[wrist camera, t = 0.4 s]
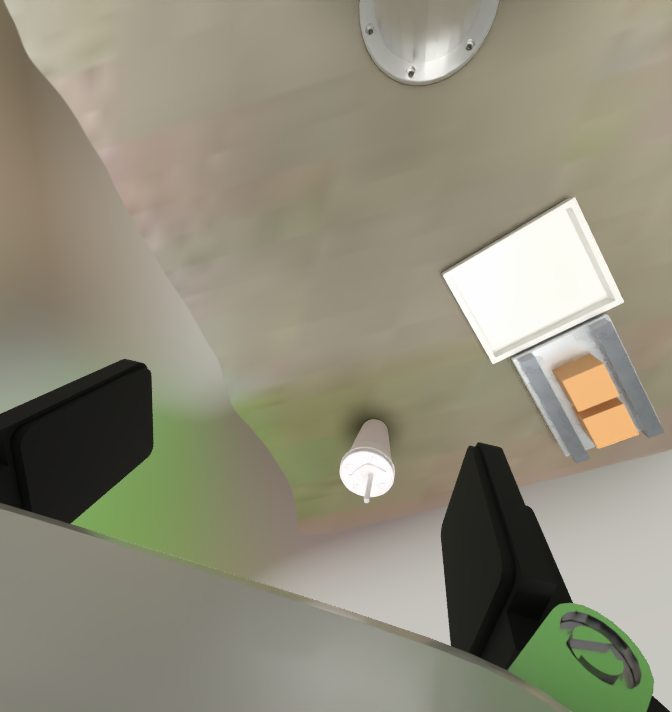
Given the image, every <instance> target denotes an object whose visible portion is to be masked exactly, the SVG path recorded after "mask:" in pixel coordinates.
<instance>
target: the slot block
mask: <svg viewBox="0 0 672 712" xmlns="http://www.w3.org/2000/svg"><path fill="white" fill-rule="evenodd" d="M588 354H591V355H593V356H594V357H595V358H597V359H598V360H600V361H601V362H602V363H604V365H605V367H606V369H607V371H608V373H609V375H610V377H611V379H612V381H613V383H614V385H615V387H616V389H617V391H618V393H619V395H620V396H618V397H617V398H618V399H619V400H620V401H621V402H622V403H624V405H625V407H626V409H627V411H628V413H629V415H630V417H631V419H632V421H633V423H634V425H635V427H636V429H637V431H642V432H643V433H644V434H645V435H646V436H647V437H648V438H650V437H653V436H656V435H659V434H661V433H664V431H663V428H662V426H661V423H660V421H659V419H658V417H657V414H656V412H655V410H654V408H653V406H652V404H651V402H650V400H649V398H648V396H647V394H646V392H645V390H644V388H643V385H642V383H641V381H640V379H639V377H638V375H637V373H636V371H635V369H634V367H633V365H632V363H631V361H630V359H629V356H628V354H627V352H626V350H625V348H624V346H623V344H622V342H621V340H620V338H619V336H618V334H617V332H616V330H615V327H614V325H613V323H612V321H611V319H610V317H609V316H608V315H606V314H604V313H600V314H598V315H596V316H594V317H592V318H590V319H588V320H586V321H583V322H581V323H579V324H577V325H575V326H573V327H571V328H569V329H566V330H564V331H562V332H560V333H558V334H556V335H554V336H552V337H550V338H547V339H545V340H543V341H541V342H539V343H537V344H535V345H533V346H531V347H528V348H526V349H524V350H522V351H520V352H518V353H516V354H514V355H511V356H509V357H510V359H511V361H512V363H513V365H514V366H515V368H516V370H517V372H518V374H519V375H520V377H521V379H522V381H523V383H524V384H525V386H526V388H527V390H528V392H529V393H530V395H531V397H532V399H533V401H534V402H535V404H536V406H537V408H538V410H539V411H540V413H541V415H542V417H543V419H544V420H545V422H546V424H547V426H548V428H549V429H550V431H551V433H552V435H553V437H554V438H555V440H556V442H557V444H558V445H559V447H560V448H561V450H562V451H563V453H564V454H565V456H566V457H568V456H571V457H572V458H573V460H574V461H575V463H578V462H581V461H584V460H587V459H590V458H589V456H588V454H587V452H586V451H585V450H588V449H591V448H593V447H596V446H595V445H594V443H593V442H592V441H591V440H590V439H589V437H588V436H587V435H586V433H585V432H584V430H583V428H582V426H581V424H580V422H579V420H578V418H577V417H576V415H575V413H574V411H573V409H572V407H571V406H573V405H572V404H571V403H570V402H569V401H568V400H567V398H566V396H565V394H564V392H563V390H562V388H561V387H560V385H559V383H558V381H557V379H556V377H555V375H554V373H553V372H552V370H554V369H556V368H559V367H561V366H563V365H565V364H568V363H570V362H572V361H574V360H577V359H579V358H581V357H584V356H586V355H588Z"/></svg>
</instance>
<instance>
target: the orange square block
mask: <svg viewBox="0 0 672 712" xmlns="http://www.w3.org/2000/svg"><path fill="white" fill-rule="evenodd" d="M552 372H553V373H554V375H555V377H556V379H557V381H558V383H559V385H560V387H561V388H562V390H563V392H564V394H565V396H566V398H567V400H568V401H569V402H570V403H571V404H572V405H573V406H574V408H575V409H576V410H577V411H578V412H580V411H583V410H585V409H588V408H590V407H593V406H595V405H598V404H600V403H603V402H605V401H608V400H610V399H613V398H616V397H618V396H620V395H619V393H618V391H617V389H616V387H615V385H614V383H613V381H612V379H611V377H610V375H609V373H608V371H607V369H606V367H605V365H604V363H602V362H601V361H600V360H598V359H597V358H595V357H594V356H593V355H591V354H588V355H586V356H584V357H581V358H579V359H577V360H574V361H572V362H570V363H568V364H565V365H563V366H561V367H559V368H556V369H554V370H552Z"/></svg>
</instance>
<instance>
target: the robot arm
mask: <svg viewBox="0 0 672 712" xmlns="http://www.w3.org/2000/svg"><path fill="white" fill-rule="evenodd" d="M498 4H499V0H360V3H359V16H360V26H361V31H362V35H363V39H364V42H365V45H366V48H367V50H368V52H369V54H370V56H371V58H372V60H373V61H374V62H375V64H376V65H377V66H378V67H379V69H380V70H381V71H383V72H384V73H385V74H386V75H387V76H389V77H390V78H392V79H394V80H396V81H398V82H400V83H404V84H408V85H428V84H432V83H437V82H439V81H441V80H444V79H446V78H448V77H450V76H451V75H453V74H454V73H456V72H457V71H459V70H460V69H461V68H462V67H463V66H464V65H466V64H467V63H468V62H469V61H470V60H471V59H472V58H473V56H474V55H475V54H476V52H477V51H478V50H479V48H480V47H481V46H482V44H483V42H484V40H485V38H486V36H487V35H488V33H489V31H490V28H491V26H492V23H493V21H494V18H495V15H496V11H497V8H498ZM370 31H373V33H372V34H371V35H368V33H369V32H370ZM467 46H470V47H471V50H469V51H468V50H466V47H467ZM411 72H412V73H413V74H414V75H413V77H409V73H411ZM151 381H152V380H151V372H150V370H148V369H147V366H146V365H145V364H144V363H140V362H136V361H132V360H127V359H123V360H120V361H118V362H116V363H114V364H111V365H109V366H107V367H105V368H102V369H100V370H98V371H96V372H93V373H91V374H89V375H87V376H84V377H82V378H80V379H78V380H75V381H73V382H71V383H69V384H66V385H64V386H62V387H60V388H57V389H55V390H53V391H51V392H48V393H46V394H44V395H42V396H39V397H37V398H35V399H33V400H30V401H28V402H26V403H24V404H22V405H19V406H17V407H15V408H13V409H10V410H8V411H6V412H4V413H1V414H0V712H670V711H669V710H668V709H667V708H665V707H664V706H663V705H662V704H661V703H660V702H659V701H658V700H657V699H655V698H654V697H653V696H652V694H653V684H654V679H653V676H652V673H651V670H650V667H649V665H648V663H647V661H646V659H645V658H644V656H643V655H642V653H641V652H640V650H639V648H638V647H637V646H636V645H635V644H634V643H633V642H632V640H631V639H630V638H629V637H628V636H627V634H625V633H624V632H623V631H622V630H621V629H619V627H617V626H616V625H615V624H614V623H613V622H612V621H610V620H609V619H607V618H605V617H604V616H603V615H601V614H600V613H598V612H596V611H594V610H592V609H590V608H587V607H585V606H583V605H578V604H574V603H573V602H572V600H571V597H570V595H569V593H568V590H567V588H566V586H565V583H564V582H563V579H562V576H561V574H560V572H559V569H558V567H557V565H556V562H555V560H554V558H553V555H552V553H551V551H550V549H549V546H548V544H547V542H546V539H545V537H544V535H543V532H542V530H541V528H540V525H539V523H538V521H537V518H536V516H535V514H534V512H533V510H532V509H531V508H530V507H529V506H526V505H525V504H524V501H523V499H522V496H521V494H520V491H519V489H518V486H517V484H516V481H515V479H514V476H513V474H512V472H511V469H510V467H509V464H508V462H507V459H506V457H505V454H504V452H503V450H502V448H501V447H497V446H492V445H488V444H484V443H480V442H479V443H477V444H476V446H475V447H473V446H469V447H468V449H467V451H466V454H465V457H464V460H463V463H462V466H461V469H460V472H459V475H458V478H457V481H456V484H455V487H454V490H453V493H452V496H451V499H450V502H449V505H448V508H447V512H446V514H445V518H444V520H443V524H442V529H441V543H442V553H443V564H444V575H445V585H446V597H447V608H448V618H449V629H450V640H451V646H449V645H446V644H444V643H441V642H439V641H436V640H433V639H431V638H428V637H425V636H422V635H419V634H416V633H413V632H410V631H407V630H404V629H401V628H398V627H396V626H392V625H390V624H387V623H383V622H381V621H378V620H374V619H372V618H369V617H366V616H363V615H360V614H357V613H354V612H351V611H348V610H345V609H341V608H338V607H335V606H332V605H329V604H326V603H322V602H319V601H316V600H313V599H310V598H307V597H304V596H300V595H297V594H294V593H291V592H288V591H285V590H281V589H278V588H275V587H272V586H269V585H266V584H262V583H259V582H256V581H253V580H249V579H247V578H243V577H240V576H237V575H234V574H231V573H228V572H224V571H221V570H218V569H215V568H212V567H208V566H205V565H202V564H199V563H195V562H192V561H189V560H186V559H183V558H179V557H176V556H173V555H170V554H167V553H163V552H160V551H156V550H154V549H150V548H147V547H144V546H140V545H137V544H134V543H131V542H127V541H124V540H121V539H118V538H114V537H111V536H108V535H105V534H101V533H98V532H95V531H92V530H88V529H85V528H82V527H78V526H75V525H72V524H70V523H72V522H73V521H74V520H75V519H76V518H78V517H79V516H80V515H81V514H82V513H83V512H85V510H87V509H88V508H89V507H90V506H92V505H93V504H94V503H95V502H96V501H97V500H98V499H100V498H101V497H102V496H103V495H104V494H106V492H108V491H109V490H110V489H111V488H112V487H114V486H115V485H116V484H117V483H118V482H120V481H121V480H122V479H123V478H124V477H125V476H126V475H128V474H129V473H130V472H131V471H132V470H133V469H135V468H136V467H137V466H138V465H139V464H140V463H141V462H143V461H144V460H145V459H146V458H147V457H148V456H149V455H150V454H151V452H152V449H153V418H152V417H153V414H152V382H151Z"/></svg>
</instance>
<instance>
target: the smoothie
mask: <svg viewBox="0 0 672 712" xmlns="http://www.w3.org/2000/svg"><path fill="white" fill-rule="evenodd" d="M394 476H395V469H394V465H393V463H392V461H391V454H390V445H389V435H388V428H387V426H386V425H385V424H384V423H383V422H382V421H380V420H377V419H371V420H368V421H366V422H365V423H364V424H363V426H362V428H361V429H360V431H359V433H358V435H357V437H356V439H355V441H354V443H353V445H352V447H351V449H350V450H349V452H347V453H346V454H345V455H344V457H343V458H342V461H341V466H340V477H341V480H342V482H343V483H344V485H345V486H346V487H347V488H348V489H349V490H350V491H352V492H354V493H355V494H358V495H361V496H364V502H365V503H369V499H370V497H376V496H380V495H382V494H384V493H386V492H387V491H388V490H389V489H390V488H391V486H392V484H393V481H394Z"/></svg>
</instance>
